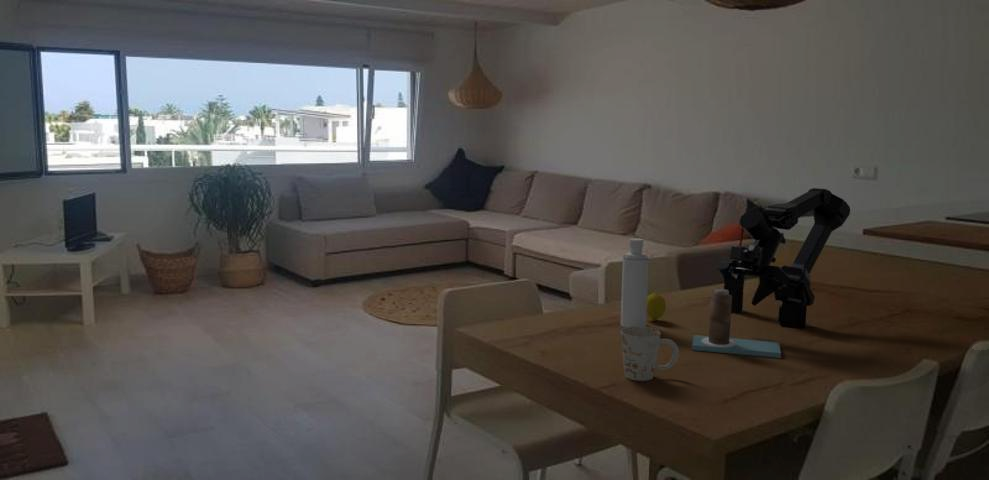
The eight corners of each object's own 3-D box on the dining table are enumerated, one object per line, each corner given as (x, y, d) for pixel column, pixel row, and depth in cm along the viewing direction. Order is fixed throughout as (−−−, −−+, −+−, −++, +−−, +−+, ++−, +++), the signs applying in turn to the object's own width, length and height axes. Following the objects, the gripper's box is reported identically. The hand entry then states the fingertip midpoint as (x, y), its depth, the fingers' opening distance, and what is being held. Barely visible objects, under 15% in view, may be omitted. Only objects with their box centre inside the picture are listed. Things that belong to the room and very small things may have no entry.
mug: (615, 370, 165) (616, 326, 164) (671, 369, 166) (673, 325, 165) (624, 383, 157) (626, 337, 155) (683, 382, 158) (685, 336, 157)
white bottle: (633, 321, 206) (637, 230, 202) (651, 326, 201) (655, 233, 197) (615, 324, 203) (618, 232, 199) (632, 330, 197) (636, 235, 193)
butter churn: (725, 316, 213) (730, 217, 208) (707, 307, 222) (712, 213, 217) (754, 314, 215) (760, 216, 210) (735, 306, 224) (741, 212, 219)
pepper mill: (724, 338, 185) (727, 288, 183) (732, 344, 180) (735, 292, 178) (705, 339, 185) (708, 288, 183) (712, 344, 180) (715, 293, 178)
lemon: (665, 323, 204) (666, 295, 202) (644, 322, 205) (645, 293, 204) (664, 318, 209) (666, 290, 208) (644, 317, 210) (645, 289, 209)
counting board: (778, 347, 183) (778, 341, 183) (780, 358, 175) (781, 352, 175) (693, 339, 189) (693, 334, 189) (691, 349, 181) (692, 344, 180)
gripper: (717, 230, 196) (692, 282, 193) (775, 234, 180) (749, 290, 177) (742, 253, 201) (717, 303, 198) (801, 258, 185) (775, 313, 181)
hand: (738, 302), depth 188 cm, fingers open, 9 cm apart
